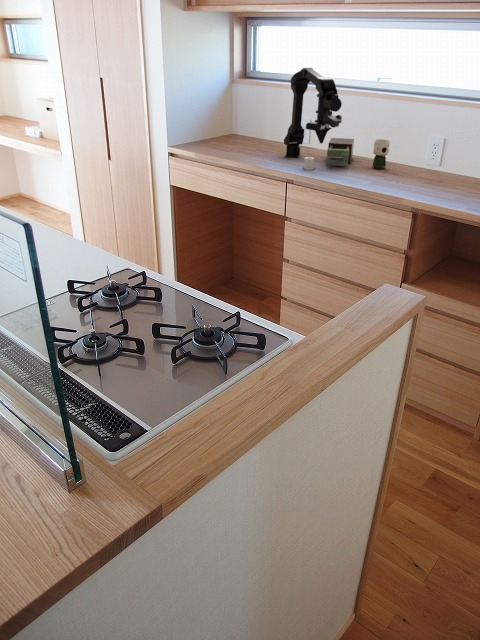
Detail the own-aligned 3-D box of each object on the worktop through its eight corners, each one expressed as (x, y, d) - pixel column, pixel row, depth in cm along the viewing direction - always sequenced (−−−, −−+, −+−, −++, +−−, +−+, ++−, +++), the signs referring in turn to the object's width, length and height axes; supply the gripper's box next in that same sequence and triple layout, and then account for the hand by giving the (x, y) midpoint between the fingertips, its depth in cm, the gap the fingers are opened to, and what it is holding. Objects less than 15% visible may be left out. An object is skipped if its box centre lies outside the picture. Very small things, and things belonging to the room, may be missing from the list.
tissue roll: (303, 169, 262) (303, 158, 260) (304, 167, 266) (305, 156, 264) (312, 170, 261) (313, 159, 259) (314, 167, 265) (315, 157, 263)
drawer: (346, 168, 260) (348, 152, 256) (325, 167, 262) (326, 150, 258) (349, 160, 274) (351, 145, 270) (328, 159, 277) (330, 143, 273)
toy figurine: (378, 171, 260) (381, 143, 253) (365, 168, 264) (369, 141, 258) (391, 167, 266) (395, 140, 260) (379, 165, 271) (382, 138, 264)
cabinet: (350, 163, 272) (352, 144, 268) (327, 162, 275) (328, 142, 270) (352, 157, 284) (354, 139, 279) (329, 156, 286) (331, 137, 282)
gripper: (326, 112, 239) (323, 148, 247) (350, 108, 251) (346, 143, 259) (306, 109, 246) (304, 145, 254) (330, 105, 258) (327, 139, 265)
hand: (321, 143), depth 258 cm, fingers closed
